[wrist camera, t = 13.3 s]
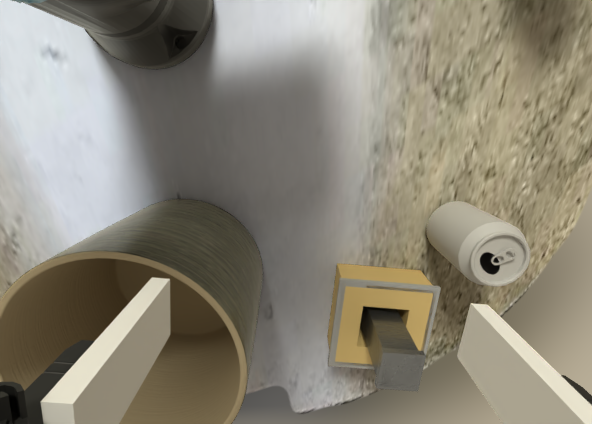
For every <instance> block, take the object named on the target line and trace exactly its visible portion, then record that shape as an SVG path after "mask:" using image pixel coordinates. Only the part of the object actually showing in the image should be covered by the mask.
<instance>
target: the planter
mask: <svg viewBox="0 0 592 424" xmlns="http://www.w3.org/2000/svg"><path fill="white" fill-rule="evenodd" d="M152 277H153V278H165V279H170V336H169V338H168V340H167V341H166V343H165V345H164V347H163V348H162V350H161V352H160V354H159V355H158V357H157V359H156V360H155V362H154V364H153V366H152V367H151V369H150V371H149V373H148V374H147V376H146V378H145V380H144V381H143V383H142V385H141V387H140V388H139V390H138V392H137V394H136V395H135V397H134V399H133V400H132V402H131V404H130V406H129V407H128V409H127V411H126V413H125V414H124V416H123V418H122V420H121V421H120V423H119V424H232V422H233V421H234V419H235V418H236V416H237V414H238V412H239V410H240V408H241V406H242V403H243V400H244V397H245V393H246V388H247V382H248V376H249V370H250V364H251V358H252V352H253V346H254V339H255V333H256V326H257V319H258V311H259V303H260V295H261V288H262V281H263V267H262V261H261V256H260V253H259V250H258V247H257V245H256V243H255V241H254V239H253V238H252V236H251V235H250V233H249V232H248V231H247V229H246V228H245V227H244V226H243V225H242V224H241V223H240V222H239V221H238V220H237V219H236V218H235V217H233V216H232V215H231V214H229V213H228V212H226V211H224V210H223V209H221V208H219V207H217V206H214V205H212V204H209V203H206V202H202V201H198V200H192V199H172V200H166V201H161V202H158V203H155V204H152V205H150V206H148V207H146V208H144V209H142V210H140V211H138V212H136V213H134V214H132V215H130V216H128V217H126V218H124V219H122V220H121V221H119V222H117V223H115V224H113V225H111V226H109V227H107V228H105V229H103V230H101V231H99V232H97V233H95V234H94V235H92V236H90V237H88V238H86V239H84V240H82V241H81V242H79V243H77V244H75V245H73V246H72V247H70V248H68V249H66V250H64V251H63V252H61V253H59V254H57V255H55V256H54V257H52V258H50V259H48V260H46V261H45V262H43V263H41V264H39V265H37V266H36V267H34V268H32V269H31V270H29V271H28V272H26V273H25V274H24V275H22V276H21V277H20V278H19V279H18V280H17V281H16V282H14V283H13V284H12V285H11V287H10V288H9V289H8V290H7V291H6V292H5V294H4V295H3V297H2V298H1V300H0V382H15V383H18V384H21V386H22V387H23V389H24V391H25V390H26V389H27V388H28V387H29V386H30V385H31V384H32V383H33V382H34V381H35V380H36V379H37V378H38V377H39V376H40V375H41V374H42V373H44V371H45V370H46V369H47V368H48V367H49V366H50V365H51V364H52V363H54V361H55V360H56V358H57V357H58V356H59V355H60V354H61V353H62V352H63V351H64V350H65V349H67V348H69V347H70V346H72V345H74V344H75V343H77V342H79V341H81V340H90V341H95V340H96V339H97V338H98V337H99V336H100V335H101V334H102V333H103V332H104V330H105V329H106V328H107V327H108V326H109V325H110V324H111V323H112V322H113V320H114V319H115V318H116V317H117V316H118V315H119V314H120V313H121V311H122V310H123V309H124V308H125V307H126V306H127V305H128V304H129V303H130V301H131V300H132V299H133V298H134V297H135V296H136V295H137V294H138V293H139V291H140V290H141V289H142V288H143V287H144V286H145V285H146V284H147V283H148V281H149V280H150V279H151V278H152Z"/></svg>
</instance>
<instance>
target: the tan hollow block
mask: <svg viewBox="0 0 592 424" xmlns="http://www.w3.org/2000/svg"><path fill="white" fill-rule="evenodd" d="M440 290H441V288H440V287H439V286H433V285H432V284H431V283H430V282H429V280H428V279H427V278H426V277H425V275H424V274H423V273H422V272H421V271H420V270H409V269H397V268H385V267H374V266H362V265H350V264H338V263H337V269H336V276H335V284H334V291H333V299H332V306H331V314H330V321H329V329H328V336H327V337H328V343H329V350H330V351H329V358H328V366H334V367H347V368H361V369H374V367H373V364H372V361H371V357H370V354H369V351H368V348H367V345H366V342H365V339H364V335H363V332H362V329H361V326H360V323H361V317H362V311H363V306H366V307H379V308H391V309H397V311H398V313H399V315H400V317H401V318H402V320H403V322H404V324H405V326H406V328H407V330H408V332H409V333H410V335H411V337H412V339H413V341H414V343H415V345H416V347H417V348H418V350H419V351H424V353H425V355H426V352H427V348H428V343H429V339H430V334H431V330H432V326H433V321H434V317H435V312H436V308H437V303H438V299H439V295H440Z"/></svg>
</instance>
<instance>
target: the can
mask: <svg viewBox="0 0 592 424" xmlns="http://www.w3.org/2000/svg"><path fill="white" fill-rule="evenodd" d="M426 229H427V237H428V240H429V242H430V244H431V245H432V246H433V247H434V248H435V249H436V250H437V251H438V252H440V253H441V254H442V255H443V256H444V257H445V258H446V259H447V260H448V261H449V262H450V263H451V264H452V265H454V266H455V267H456V268H457V269H458V270H459V271H460V272H461V273H462V274H463V275H464V276H465V277H466V278H467V279H469V280H470V281H472V282H474V283H476V284H480V285H487V286H495V287H497V286H504V285H507V284H509V283H512V282H514V281H515V280H516V279H518V278H519V277H520V276H521V275H522V274H523V273H524V271H525V270H526V269H527V267H528V264H529V261H530V249H529V246H528V243H527V242H526V239H525V237H524V235H523V234H522V232H521V231H520V230H519V229H518V228H517V227H515V226H513V225H511V224H509V223H507V222H505V221H503V220H501V219H499V218H497V217H495V216H493V215H491V214H489V213H487V212H485V211H483V210H481V209H479V208H477V207H475V206H473V205H471V204H468V203H466V202H461V201H453V202H448V203H446V204H444V205H442V206H440V207H439V208H438V209H436V210H435V211H434V212H433V214H432V215H431V217H430V218H429V220H428V224H427V228H426Z"/></svg>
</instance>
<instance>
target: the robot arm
mask: <svg viewBox="0 0 592 424" xmlns="http://www.w3.org/2000/svg"><path fill="white" fill-rule="evenodd" d="M12 1H17V2H19V3H21V2H23V3H25V4H28V5H30V6H33V7H35V8H37V9H40V10H42V11H45V12H47V13H49V14H52V15H54V16H56V17H59V18H61V19H64V20H66V21H68V22H71V23H73V24H75V25H78V26H80V27H83V28H84V29H85V30H86V32H87V33H88V34H89V36H90V37H91V38H92V39H93V40H94V41H95V42H96V43H97V44H98V45H99V46H100V47H101V48H102V49H103V50H104V51H106V52H107V53H109V54H110V55H112V56H113V57H115V58H117V59H118V60H121V61H123V62H125V63H128V64H131V65H134V66H137V67H141V68H146V69H163V68H168V67H172V66H174V65H177V64H179V63H181V62H183V61H184V60H186V59H187V58H189V57H190V56H191V55H192V54H193V53H194V52H195V51H196V50H197V49H198V48H199V46H200V45H201V43H202V42H203V40H204V38H205V36H206V34H207V32H208V29H209V26H210V22H211V18H212V10H213V0H12ZM169 336H170V279H165V278H153V277H152V278H151V279H150V280H149V281H148V283H147V284H146V285H145V286H144V287H143V288H142V289H141V290H140V291H139V293H138V294H137V295H136V296H135V297H134V298H133V299H132V300H131V301H130V303H129V304H128V305H127V306H126V307H125V308H124V309H123V310H122V311H121V313H120V314H119V315H118V316H117V317H116V318H115V319H114V320H113V322H112V323H111V324H110V325H109V326H108V327H107V328H106V329H105V330H104V332H103V333H102V334H101V335H100V336H99V337H98V338H97V339H96V340H95V341H90V340H81V341H79V342H77V343H75V344H74V345H72V346H70V347H69V348H67V349H65V350H64V351H63V352H62V353H61V354H60V355H59V356H58V357H57V358H56V360H55V361H54V363H52V364H51V365H50V366H49V367H48V368H47V369H46V370H45V371H44V373H42V374H41V375H40V376H39V377H38V378H37V379H36V380H35V381H34V382H33V383H32V384H31V385H30V386H29V387H28V388H27V389H26V390H25V391H24V389H23V387H22V386H21V384H18V383H15V382H0V424H119V423H120V421H121V420H122V418H123V416H124V414H125V413H126V411H127V409H128V407H129V406H130V404H131V402H132V400H133V399H134V397H135V395H136V394H137V392H138V390H139V388H140V387H141V385H142V383H143V381H144V380H145V378H146V376H147V374H148V373H149V371H150V369H151V367H152V366H153V364H154V362H155V360H156V359H157V357H158V355H159V354H160V352H161V350H162V348H163V347H164V345H165V343H166V341H167V340H168V338H169ZM457 357H458V359H459V360H460V362H461V363H462V365H463V366H464V368H465V369H466V370H467V372H468V373H469V375H470V376H471V378H472V379H473V381H474V382H475V384H476V385H477V387H478V388H479V389H480V391H481V393H482V394H483V396H484V397H485V398H486V400H487V401H488V403H489V404H490V406H491V407H492V409H493V410H494V412H495V413H496V415H497V416H498V417H499V419H500V421H501V422H502V423H503V424H592V396H591V395H590V394H589V393H588V392H587V391H586V390H585V389H584V388H583V387H581V386H580V385H578V384H577V383H575V382H574V381H572V380H571V379H569V378H568V377H566V376H564V375H560V374H559V373H558V372H557V371H555V369H553V367H551V366H550V365H549V364H548V363H547V362H546V361H545V360H544V359H543V358H542V357H541V356H540V355H539V354H538V353H537V352H536V351H535V350H534V349H533V348H532V347H531V346H530V345H529V344H528V343H527V342H526V341H525V340H524V339H523V338H522V337H521V336H519V335H518V334H517V333H516V332H515V331H514V330H513V329H512V328H511V327H510V326H509V325H508V324H507V323H506V322H505V321H504V320H503V319H502V318H501V317H500V316H499V315H498V314H497V313H496V312H495V311H494V310H493V309H492V308H491V307H490V306H488V305H485V304H473V303H471V304H470V308H469V311H468V315H467V319H466V323H465V327H464V331H463V335H462V339H461V343H460V347H459V351H458V355H457Z"/></svg>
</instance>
